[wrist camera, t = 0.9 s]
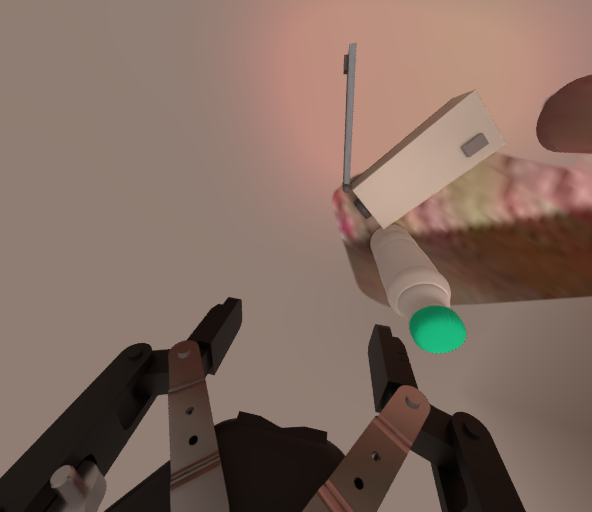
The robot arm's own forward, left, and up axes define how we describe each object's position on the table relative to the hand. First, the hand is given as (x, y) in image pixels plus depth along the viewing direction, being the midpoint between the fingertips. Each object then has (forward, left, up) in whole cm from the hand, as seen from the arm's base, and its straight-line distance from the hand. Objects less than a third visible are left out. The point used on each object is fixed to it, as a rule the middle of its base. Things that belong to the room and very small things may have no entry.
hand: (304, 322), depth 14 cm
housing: (-14, +4, -33) cm, 36 cm away
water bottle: (-4, +13, -33) cm, 36 cm away
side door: (-10, -7, -32) cm, 35 cm away
